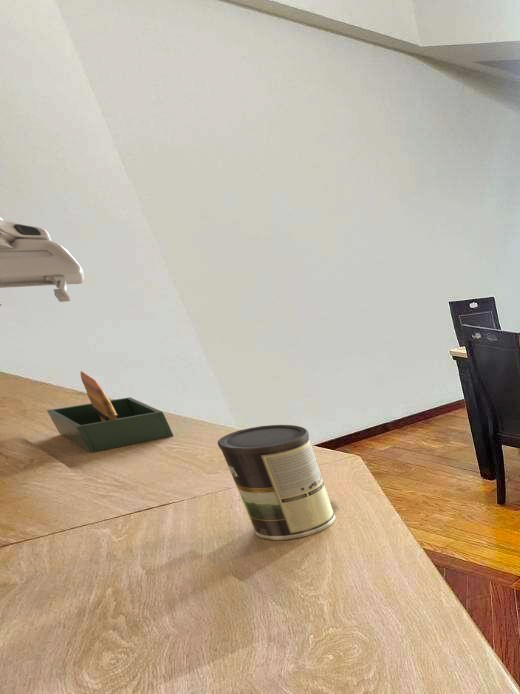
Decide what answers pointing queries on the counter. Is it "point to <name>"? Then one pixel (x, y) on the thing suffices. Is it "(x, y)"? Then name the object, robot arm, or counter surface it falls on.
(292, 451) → the coffee can
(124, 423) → the tray
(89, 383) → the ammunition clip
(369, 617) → the counter surface
